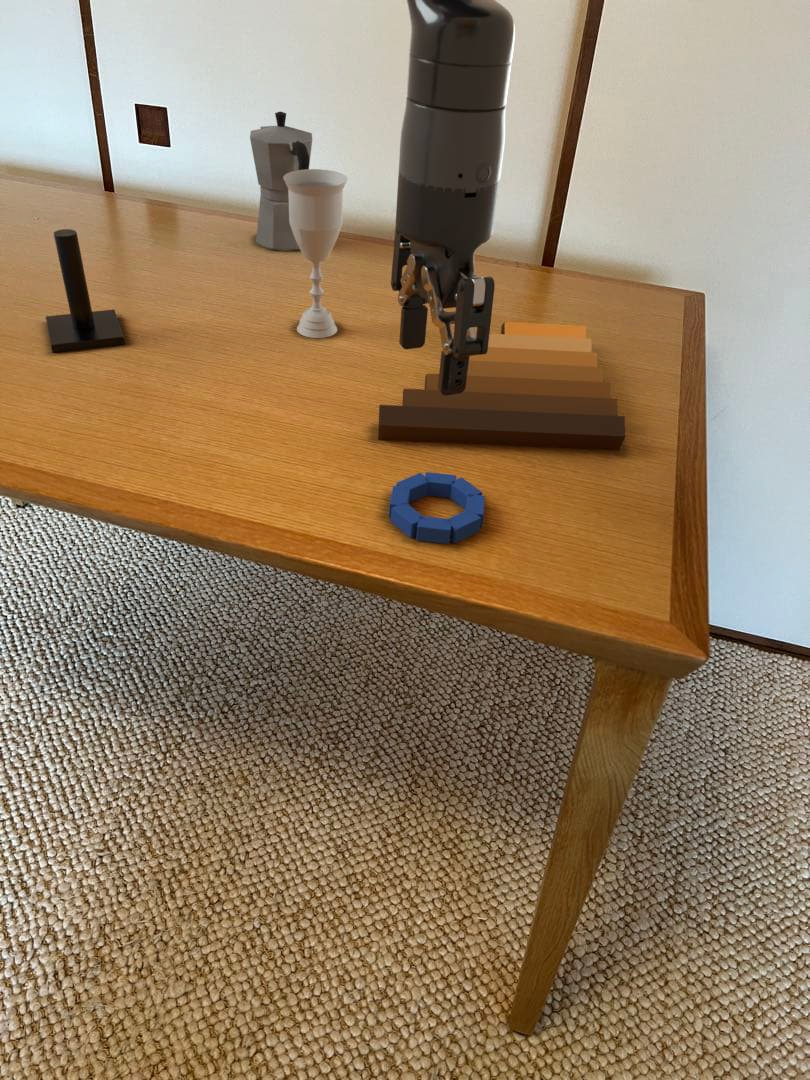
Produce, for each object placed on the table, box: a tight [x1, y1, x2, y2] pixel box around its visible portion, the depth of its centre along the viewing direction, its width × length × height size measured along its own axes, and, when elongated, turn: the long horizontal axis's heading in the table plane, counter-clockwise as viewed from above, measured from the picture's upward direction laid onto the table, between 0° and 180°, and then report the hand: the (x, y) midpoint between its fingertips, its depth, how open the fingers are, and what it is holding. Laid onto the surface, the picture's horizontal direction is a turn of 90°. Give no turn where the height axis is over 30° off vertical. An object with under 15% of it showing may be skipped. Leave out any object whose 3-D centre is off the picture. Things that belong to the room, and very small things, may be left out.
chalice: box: [283, 168, 348, 339], centre depth 96 cm, size 7×7×18 cm
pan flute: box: [377, 321, 626, 451], centre depth 92 cm, size 25×3×25 cm
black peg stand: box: [45, 228, 126, 354], centre depth 93 cm, size 8×8×12 cm
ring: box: [388, 471, 486, 545], centre depth 73 cm, size 8×8×2 cm
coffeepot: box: [249, 111, 313, 252], centre depth 119 cm, size 15×9×18 cm, turn 29°
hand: (430, 368), depth 70 cm, fingers open, 8 cm apart
